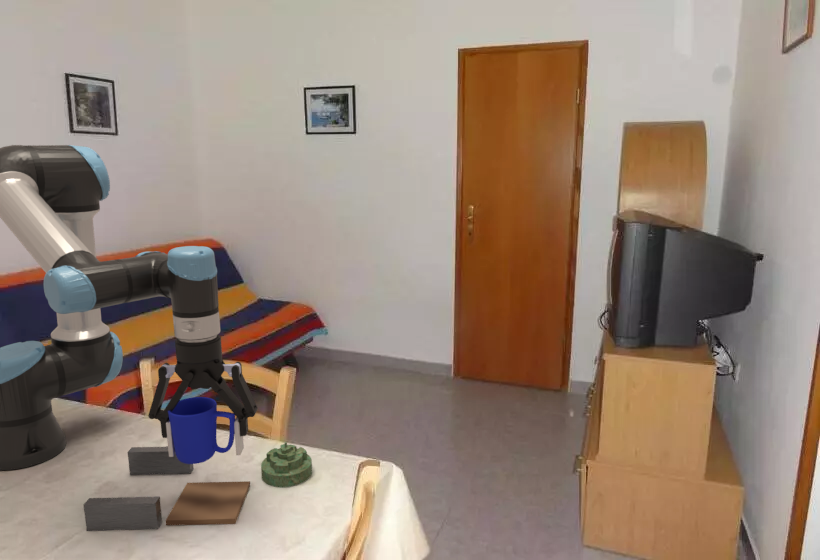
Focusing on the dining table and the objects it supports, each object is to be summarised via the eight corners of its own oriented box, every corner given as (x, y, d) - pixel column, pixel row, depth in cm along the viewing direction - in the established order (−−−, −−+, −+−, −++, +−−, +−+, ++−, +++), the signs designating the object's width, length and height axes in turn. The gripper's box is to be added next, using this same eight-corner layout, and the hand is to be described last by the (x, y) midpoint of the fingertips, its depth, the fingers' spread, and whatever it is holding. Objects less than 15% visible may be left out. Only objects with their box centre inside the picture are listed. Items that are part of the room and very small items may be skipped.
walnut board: (187, 487, 115) (187, 482, 115) (250, 485, 116) (250, 481, 116) (165, 525, 104) (165, 520, 103) (235, 523, 104) (235, 518, 104)
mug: (225, 473, 103) (221, 419, 101) (162, 466, 105) (157, 413, 103) (247, 450, 110) (244, 400, 108) (188, 444, 113) (184, 394, 111)
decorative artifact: (254, 486, 116) (304, 489, 115) (252, 453, 115) (303, 456, 114) (271, 460, 126) (317, 463, 125) (269, 429, 124) (316, 432, 124)
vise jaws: (139, 462, 125) (137, 440, 123) (197, 461, 125) (196, 439, 124) (86, 530, 102) (83, 504, 101) (157, 529, 103) (155, 503, 102)
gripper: (119, 344, 99) (132, 464, 103) (262, 342, 100) (268, 461, 104) (137, 330, 106) (148, 443, 111) (270, 329, 107) (276, 441, 112)
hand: (206, 452), depth 108 cm, fingers closed on mug, 11 cm apart
